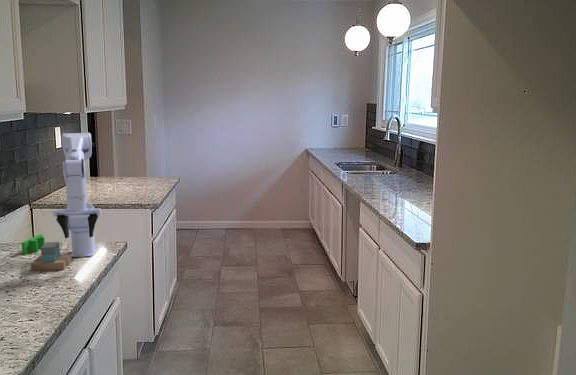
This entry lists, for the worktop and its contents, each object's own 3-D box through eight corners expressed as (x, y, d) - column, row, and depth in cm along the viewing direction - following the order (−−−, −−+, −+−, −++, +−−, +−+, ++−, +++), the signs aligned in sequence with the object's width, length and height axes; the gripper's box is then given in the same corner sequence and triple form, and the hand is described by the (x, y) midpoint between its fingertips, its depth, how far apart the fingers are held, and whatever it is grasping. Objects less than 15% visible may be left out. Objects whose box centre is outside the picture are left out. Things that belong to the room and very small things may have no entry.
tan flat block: (41, 262, 180) (40, 255, 180) (71, 261, 181) (71, 254, 181) (31, 271, 171) (31, 263, 171) (64, 269, 173) (63, 262, 172)
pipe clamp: (32, 255, 188) (31, 243, 187) (22, 255, 189) (21, 242, 188) (49, 246, 199) (48, 234, 198) (40, 245, 200) (39, 234, 199)
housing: (47, 256, 178) (46, 242, 177) (60, 256, 179) (59, 241, 178) (42, 262, 172) (40, 247, 171) (54, 261, 173) (53, 247, 172)
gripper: (48, 199, 166) (52, 241, 168) (96, 198, 168) (99, 239, 170) (55, 195, 173) (58, 235, 175) (101, 194, 175) (104, 233, 177)
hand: (79, 237), depth 173 cm, fingers open, 7 cm apart
